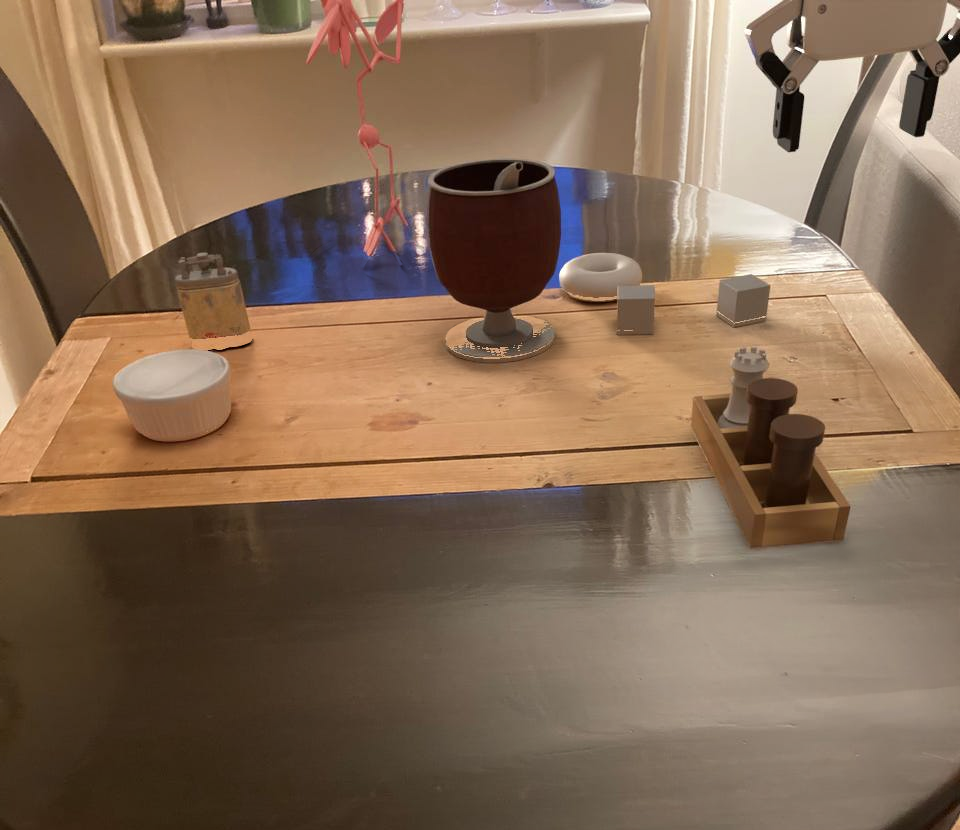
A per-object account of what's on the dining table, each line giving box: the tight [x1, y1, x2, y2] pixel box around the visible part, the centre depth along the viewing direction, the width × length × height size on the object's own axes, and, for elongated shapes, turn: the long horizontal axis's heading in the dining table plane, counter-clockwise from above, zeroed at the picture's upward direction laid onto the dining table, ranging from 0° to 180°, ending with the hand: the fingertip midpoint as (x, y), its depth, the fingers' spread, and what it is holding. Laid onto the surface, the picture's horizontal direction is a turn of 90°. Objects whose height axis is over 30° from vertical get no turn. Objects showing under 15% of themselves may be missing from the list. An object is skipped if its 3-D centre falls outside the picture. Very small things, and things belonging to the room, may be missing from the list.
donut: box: [558, 252, 643, 303], centre depth 115 cm, size 10×4×10 cm
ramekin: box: [112, 348, 232, 443], centre depth 94 cm, size 11×11×5 cm
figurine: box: [305, 0, 409, 257], centre depth 121 cm, size 15×26×35 cm, turn 170°
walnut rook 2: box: [761, 413, 826, 508], centre depth 72 cm, size 4×4×8 cm
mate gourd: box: [425, 157, 562, 364], centre depth 99 cm, size 16×14×20 cm
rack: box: [690, 392, 851, 549], centre depth 79 cm, size 7×20×4 cm, turn 3°
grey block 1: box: [616, 284, 656, 336], centre depth 105 cm, size 4×4×4 cm
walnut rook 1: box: [739, 377, 799, 466], centre depth 77 cm, size 4×4×8 cm
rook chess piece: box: [717, 346, 771, 429], centre depth 82 cm, size 4×4×8 cm
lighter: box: [174, 252, 251, 339], centre depth 107 cm, size 7×4×10 cm, turn 99°
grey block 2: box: [715, 273, 771, 328], centre depth 106 cm, size 4×4×4 cm
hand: (849, 140), depth 74 cm, fingers open, 9 cm apart
